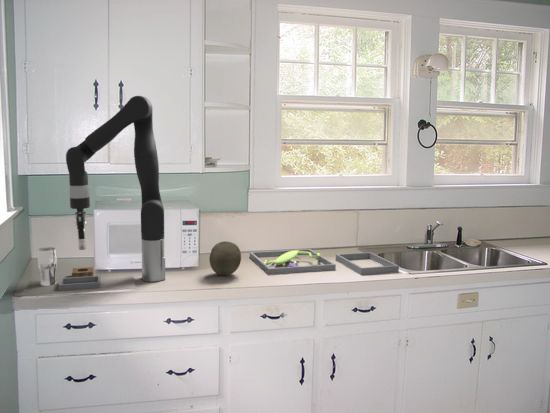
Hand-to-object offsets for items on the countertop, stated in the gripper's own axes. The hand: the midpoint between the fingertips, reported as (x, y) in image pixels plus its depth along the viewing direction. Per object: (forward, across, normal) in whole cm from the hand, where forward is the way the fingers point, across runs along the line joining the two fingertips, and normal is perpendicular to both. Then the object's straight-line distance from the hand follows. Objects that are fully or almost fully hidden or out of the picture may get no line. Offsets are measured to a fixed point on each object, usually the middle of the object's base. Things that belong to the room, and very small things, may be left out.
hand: (81, 237), depth 214 cm
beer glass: (+18, -6, +13) cm, 23 cm away
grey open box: (+19, +5, -93) cm, 95 cm away
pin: (+5, 0, 0) cm, 5 cm away
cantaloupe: (+19, -9, -58) cm, 61 cm away
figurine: (+20, +5, -94) cm, 96 cm away
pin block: (+18, 0, 0) cm, 18 cm away
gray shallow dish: (+20, -8, -126) cm, 127 cm away
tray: (+18, -12, +1) cm, 21 cm away
